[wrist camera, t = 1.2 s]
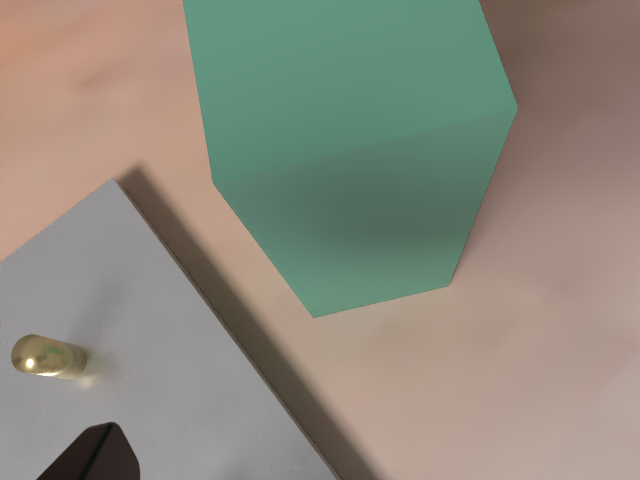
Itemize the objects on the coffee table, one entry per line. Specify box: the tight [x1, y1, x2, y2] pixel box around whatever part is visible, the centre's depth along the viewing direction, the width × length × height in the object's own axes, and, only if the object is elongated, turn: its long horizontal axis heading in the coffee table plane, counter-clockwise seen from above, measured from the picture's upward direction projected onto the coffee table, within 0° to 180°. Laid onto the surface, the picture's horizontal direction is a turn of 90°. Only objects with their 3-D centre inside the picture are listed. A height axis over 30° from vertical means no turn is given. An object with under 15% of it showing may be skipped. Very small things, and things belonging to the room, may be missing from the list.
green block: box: [183, 0, 518, 318], centre depth 16 cm, size 5×5×12 cm
